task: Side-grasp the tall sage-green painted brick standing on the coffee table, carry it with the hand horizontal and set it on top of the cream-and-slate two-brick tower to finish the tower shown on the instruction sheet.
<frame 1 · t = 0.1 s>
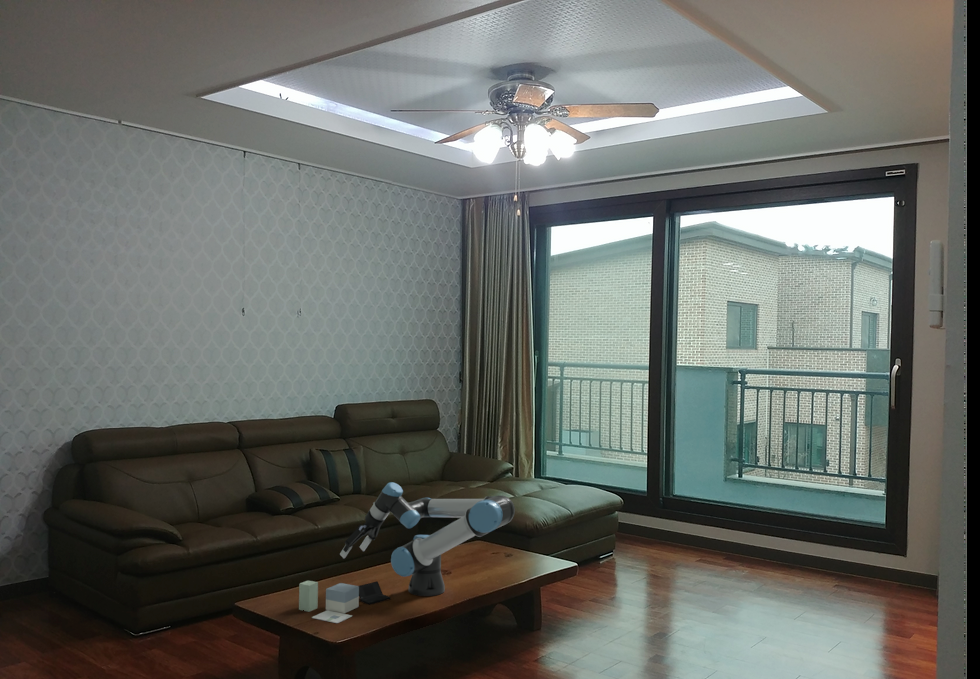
hand: (352, 552, 328), 15 cm above the table, tool tilted 35°, fingers open, 13 cm apart
handheld gaming console: (373, 600, 315), on the table
top brick: (308, 608, 302), on the table
instruction sheet: (332, 617, 293), on the table
tower base: (342, 608, 303), on the table
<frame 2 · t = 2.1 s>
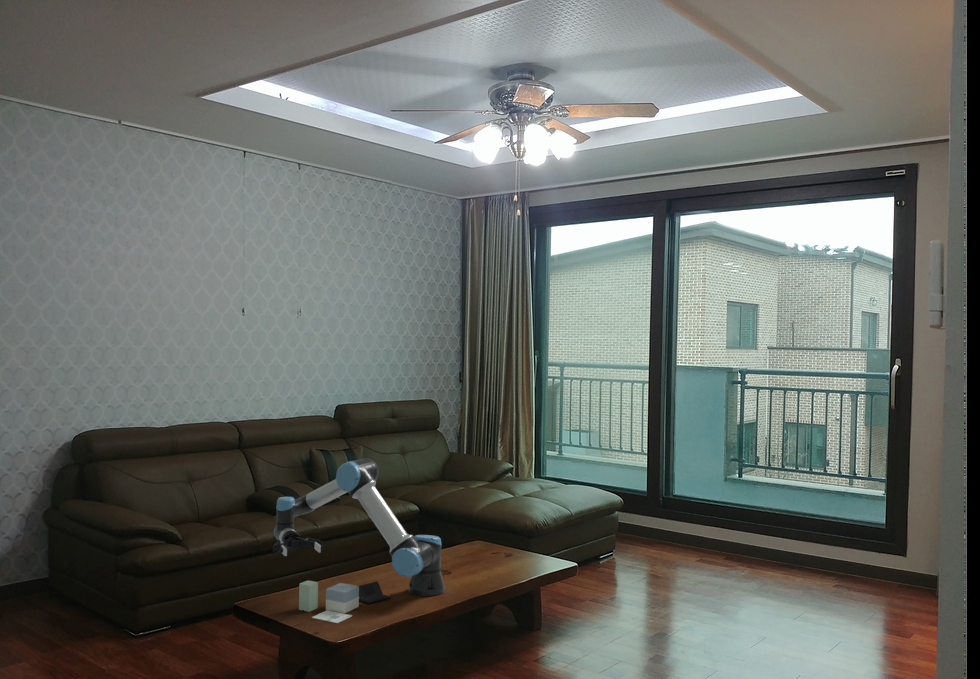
hand: (303, 550, 311), 20 cm above the table, tool horizontal, fingers open, 13 cm apart
nothing on the table moved.
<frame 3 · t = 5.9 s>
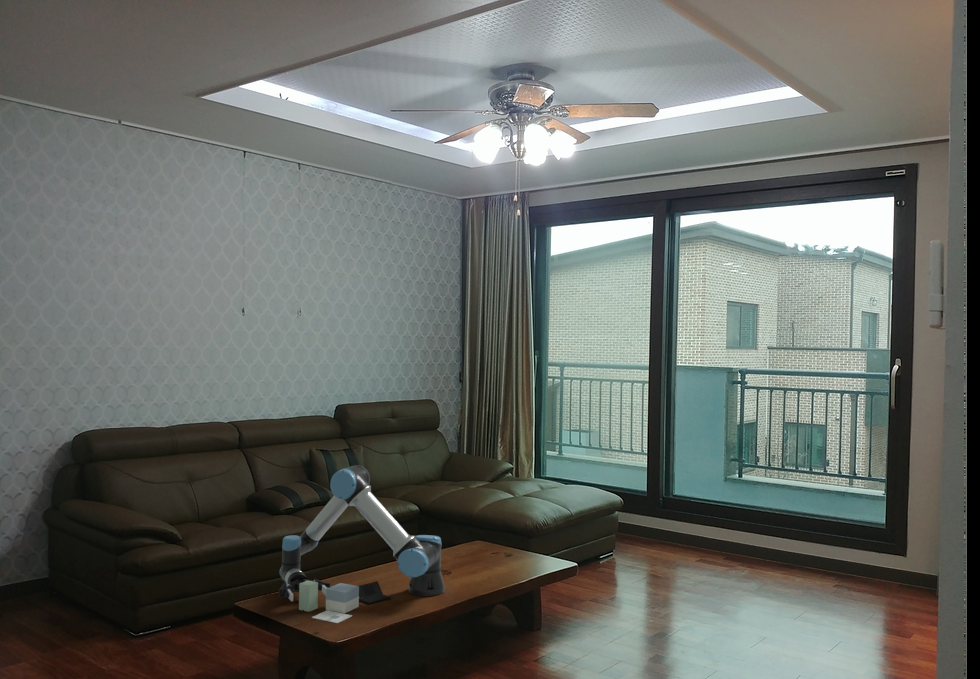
hand: (310, 595, 299), 6 cm above the table, tool horizontal, fingers open, 13 cm apart
nothing on the table moved.
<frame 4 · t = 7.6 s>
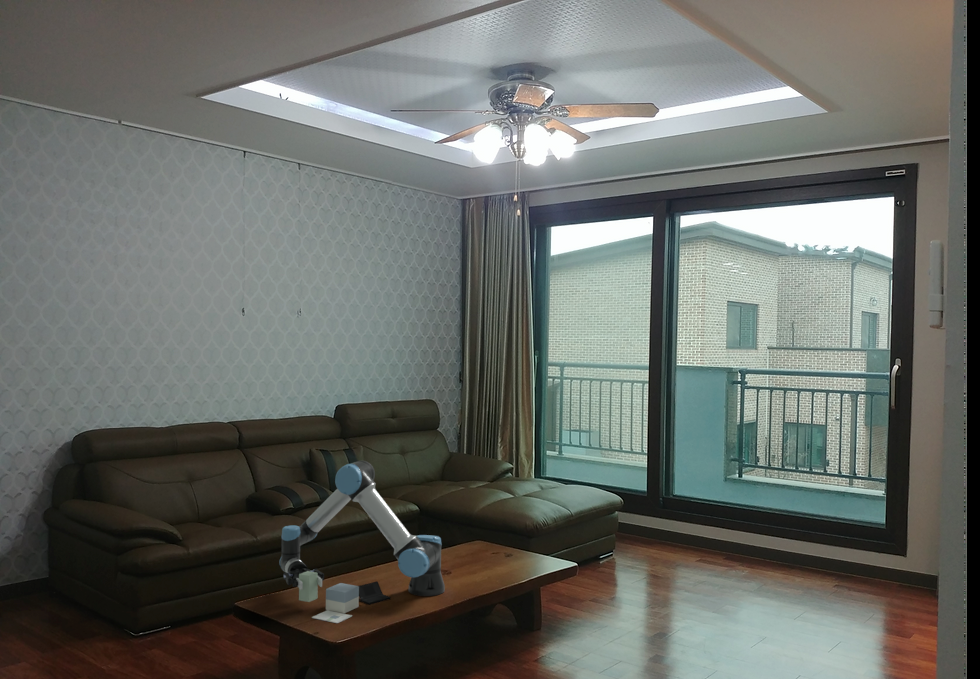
hand: (311, 584, 298), 11 cm above the table, tool horizontal, fingers closed on top brick, 7 cm apart
top brick: (308, 599, 302), point 4 cm above the table, touching gripper
everything else where it was.
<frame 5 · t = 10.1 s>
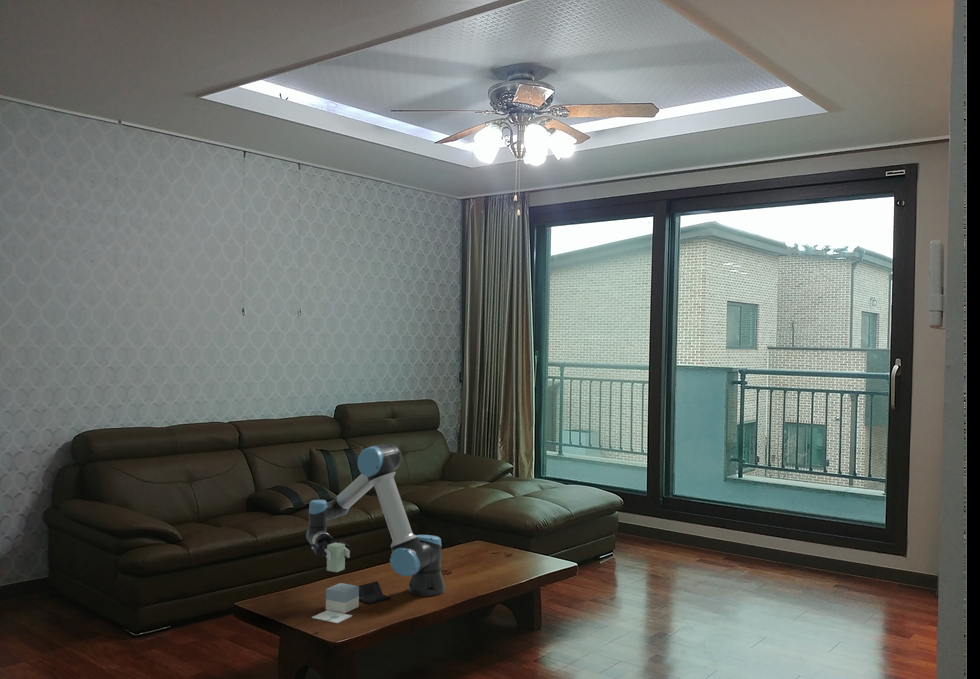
hand: (339, 555, 306), 20 cm above the table, tool horizontal, fingers closed on top brick, 7 cm apart
top brick: (335, 569, 310), point 13 cm above the table, touching gripper
everything else where it was.
when the fingers open (15 cm above the table, at t = 12.5 s): top brick stays where it is, resting on tower base.
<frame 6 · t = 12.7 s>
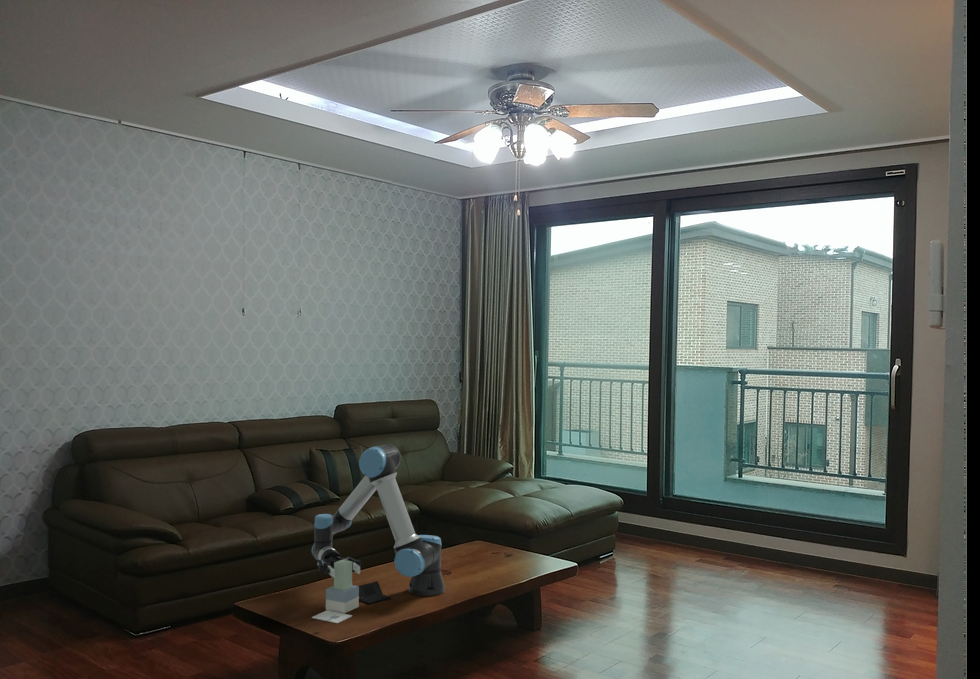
hand: (346, 571, 299), 15 cm above the table, tool horizontal, fingers open, 9 cm apart
top brick: (342, 587, 303), point 8 cm above the table, touching tower base
everything else where it was.
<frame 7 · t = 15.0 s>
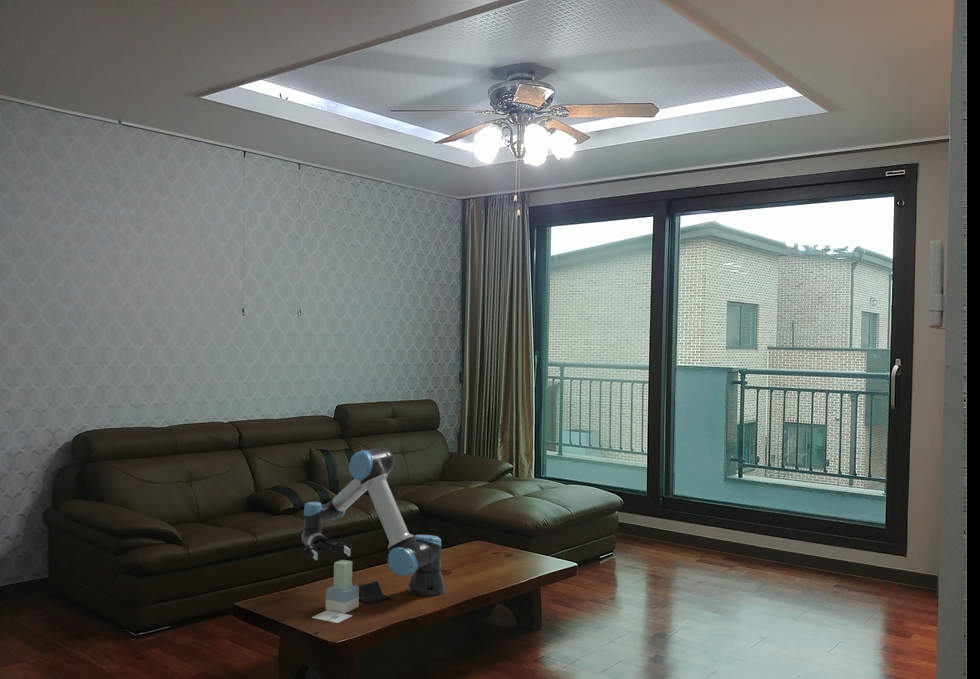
hand: (333, 554, 313), 18 cm above the table, tool horizontal, fingers open, 13 cm apart
nothing on the table moved.
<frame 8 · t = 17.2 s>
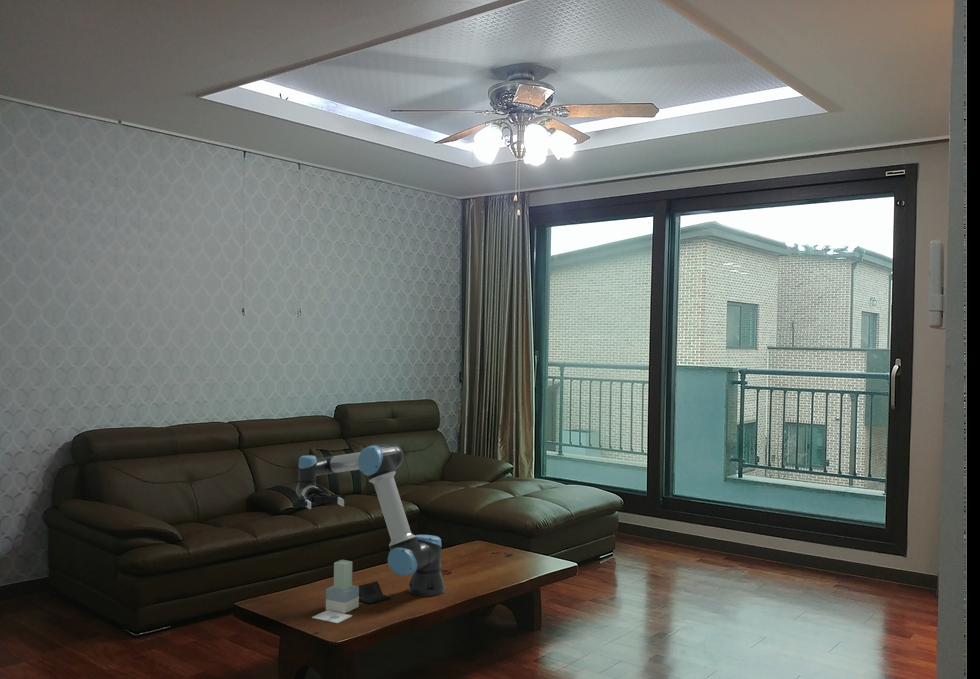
hand: (326, 504, 315), 38 cm above the table, tool horizontal, fingers open, 13 cm apart
nothing on the table moved.
at the end: top brick 0.4 cm off-centre on the tower base, point 8.0 cm above the tower base's base; top brick tilted 0°; the gripper is holding nothing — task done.
